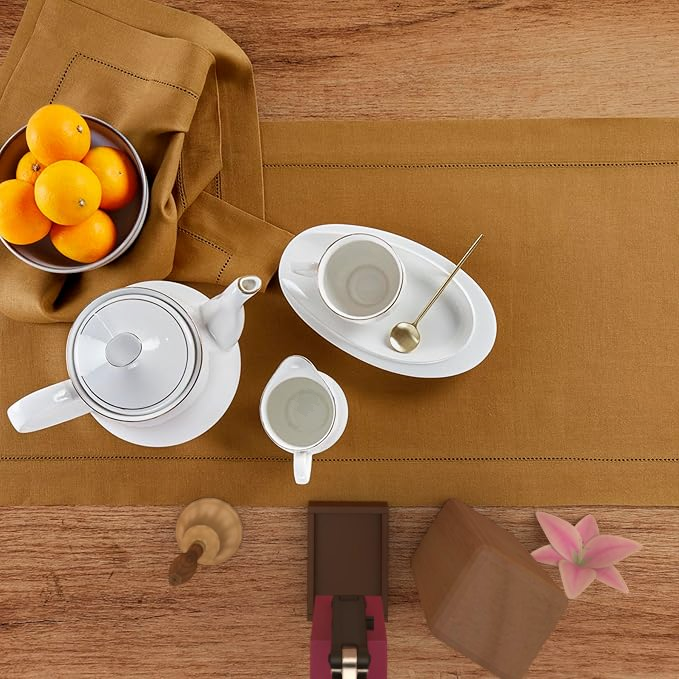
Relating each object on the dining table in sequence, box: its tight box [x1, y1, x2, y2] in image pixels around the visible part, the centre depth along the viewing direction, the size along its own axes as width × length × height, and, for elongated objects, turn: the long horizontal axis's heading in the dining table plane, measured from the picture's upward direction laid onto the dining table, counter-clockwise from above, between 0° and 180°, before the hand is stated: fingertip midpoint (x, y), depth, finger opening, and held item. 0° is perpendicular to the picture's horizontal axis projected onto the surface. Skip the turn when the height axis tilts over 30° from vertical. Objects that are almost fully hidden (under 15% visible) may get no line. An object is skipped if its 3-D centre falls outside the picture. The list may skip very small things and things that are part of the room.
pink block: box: [309, 595, 388, 679], centre depth 55 cm, size 6×6×9 cm
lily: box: [529, 510, 644, 600], centre depth 76 cm, size 12×12×10 cm
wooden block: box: [409, 497, 570, 679], centre depth 70 cm, size 10×10×20 cm
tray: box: [306, 500, 390, 623], centre depth 78 cm, size 14×10×3 cm
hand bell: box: [167, 497, 244, 587], centre depth 72 cm, size 8×8×16 cm
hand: (348, 637), depth 58 cm, fingers closed on pink block, 6 cm apart
